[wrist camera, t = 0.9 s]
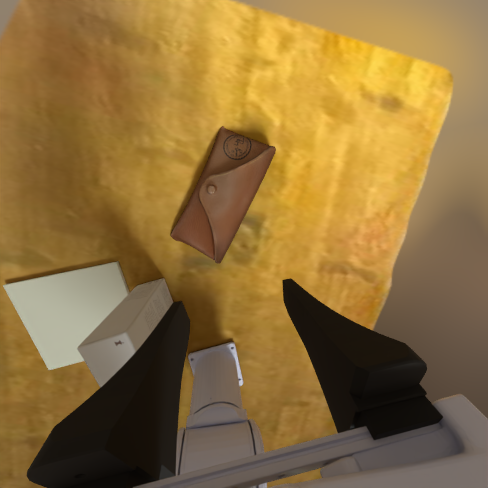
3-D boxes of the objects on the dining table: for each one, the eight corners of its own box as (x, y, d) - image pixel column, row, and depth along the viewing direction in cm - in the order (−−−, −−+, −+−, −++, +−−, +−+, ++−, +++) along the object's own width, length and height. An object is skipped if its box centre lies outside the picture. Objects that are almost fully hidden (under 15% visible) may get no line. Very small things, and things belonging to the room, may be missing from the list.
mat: (147, 342, 28) (146, 344, 28) (51, 367, 26) (48, 370, 26) (118, 261, 25) (116, 262, 24) (7, 283, 23) (2, 285, 23)
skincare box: (136, 285, 26) (73, 346, 15) (164, 277, 27) (126, 330, 15) (150, 319, 28) (104, 400, 16) (177, 311, 28) (151, 383, 16)
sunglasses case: (219, 119, 23) (250, 112, 19) (252, 151, 28) (284, 152, 24) (167, 239, 25) (183, 260, 21) (206, 250, 30) (227, 268, 26)
